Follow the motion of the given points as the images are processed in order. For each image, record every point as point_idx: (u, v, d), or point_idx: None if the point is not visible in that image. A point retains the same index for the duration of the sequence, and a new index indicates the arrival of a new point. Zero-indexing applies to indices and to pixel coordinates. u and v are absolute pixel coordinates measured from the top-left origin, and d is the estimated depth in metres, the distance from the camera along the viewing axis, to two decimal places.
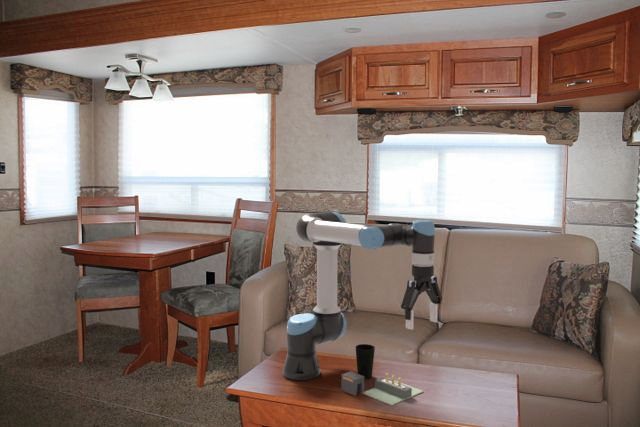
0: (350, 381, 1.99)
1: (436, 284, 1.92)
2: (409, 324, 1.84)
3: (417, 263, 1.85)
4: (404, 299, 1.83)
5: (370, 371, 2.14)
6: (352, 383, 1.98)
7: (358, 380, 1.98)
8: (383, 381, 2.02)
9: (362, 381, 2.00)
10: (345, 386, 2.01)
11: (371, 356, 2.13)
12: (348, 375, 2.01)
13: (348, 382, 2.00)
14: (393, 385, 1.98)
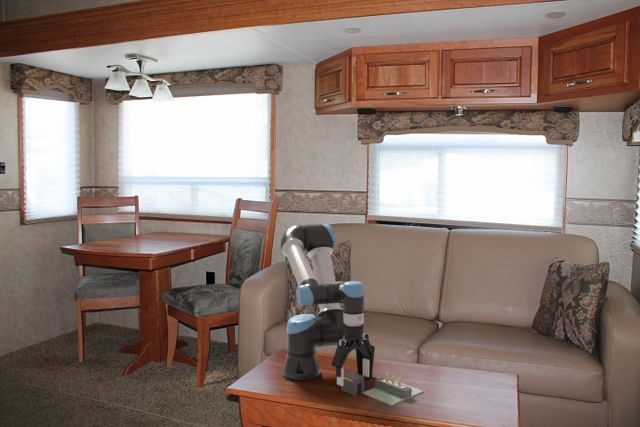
0: (350, 381, 1.99)
1: (367, 341, 2.04)
2: (340, 381, 1.95)
3: (347, 323, 1.97)
4: (334, 357, 1.95)
5: (370, 371, 2.14)
6: (352, 383, 1.98)
7: (358, 380, 1.98)
8: (383, 381, 2.02)
9: (362, 381, 2.00)
10: (345, 386, 2.01)
11: None
12: (348, 375, 2.01)
13: (348, 382, 2.00)
14: (393, 385, 1.98)
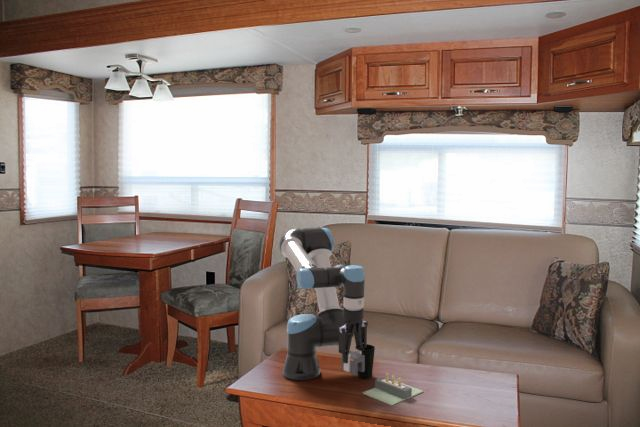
0: (350, 360, 1.98)
1: (365, 329, 2.03)
2: (347, 367, 1.99)
3: (347, 307, 1.96)
4: (339, 345, 1.97)
5: (370, 371, 2.14)
6: (352, 362, 1.98)
7: (358, 359, 1.98)
8: (383, 381, 2.02)
9: (362, 360, 1.99)
10: None
11: (371, 356, 2.13)
12: None
13: None
14: (393, 385, 1.98)
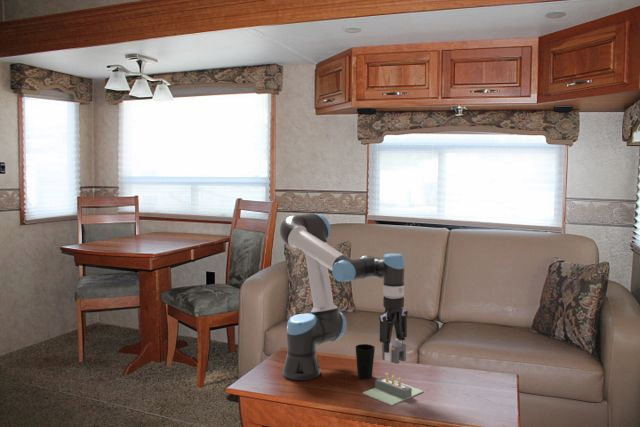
0: None
1: (405, 318, 2.01)
2: (388, 357, 1.96)
3: (388, 295, 1.94)
4: (380, 334, 1.95)
5: (370, 371, 2.14)
6: (394, 351, 1.95)
7: (400, 348, 1.95)
8: (383, 381, 2.02)
9: (404, 349, 1.97)
10: None
11: (371, 356, 2.13)
12: None
13: None
14: (393, 385, 1.98)
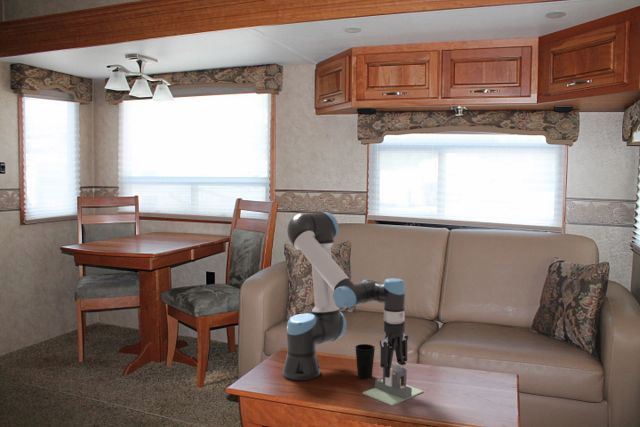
0: (392, 374, 1.97)
1: (406, 342, 2.01)
2: (389, 382, 1.97)
3: (388, 320, 1.95)
4: (381, 359, 1.95)
5: (370, 371, 2.14)
6: (394, 376, 1.96)
7: (400, 373, 1.96)
8: None
9: (404, 374, 1.98)
10: None
11: (371, 356, 2.13)
12: None
13: None
14: None
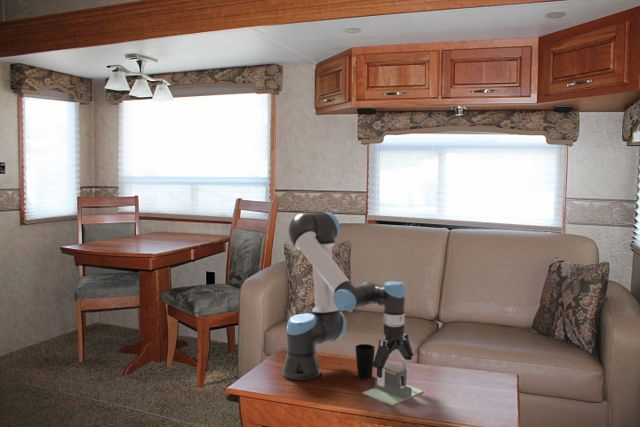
0: (392, 374, 1.97)
1: (407, 341, 2.02)
2: (381, 382, 1.94)
3: (388, 323, 1.95)
4: (376, 358, 1.93)
5: (370, 371, 2.14)
6: (394, 376, 1.96)
7: (400, 373, 1.96)
8: None
9: (404, 374, 1.98)
10: (387, 379, 1.99)
11: (371, 356, 2.13)
12: (390, 368, 1.99)
13: (390, 375, 1.98)
14: None
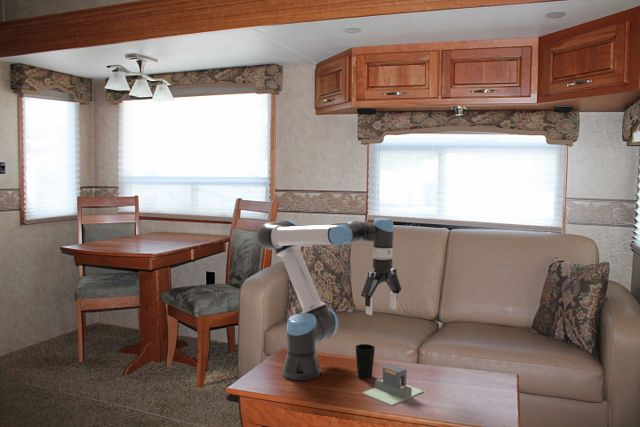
0: (392, 374, 1.97)
1: (395, 275, 2.15)
2: (369, 311, 2.07)
3: (377, 256, 2.08)
4: (364, 288, 2.06)
5: (370, 371, 2.14)
6: (394, 376, 1.96)
7: (400, 373, 1.96)
8: None
9: (404, 374, 1.98)
10: (387, 379, 1.99)
11: (371, 356, 2.13)
12: (390, 368, 1.99)
13: (390, 375, 1.98)
14: None
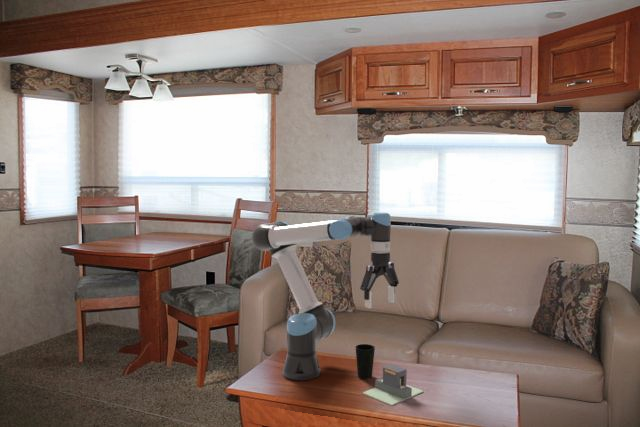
0: (392, 374, 1.97)
1: (393, 269, 2.18)
2: (368, 304, 2.10)
3: (375, 250, 2.11)
4: (363, 281, 2.09)
5: (370, 371, 2.14)
6: (394, 376, 1.96)
7: (400, 373, 1.96)
8: None
9: (404, 374, 1.98)
10: (387, 379, 1.99)
11: (371, 356, 2.13)
12: (390, 368, 1.99)
13: (390, 375, 1.98)
14: None
